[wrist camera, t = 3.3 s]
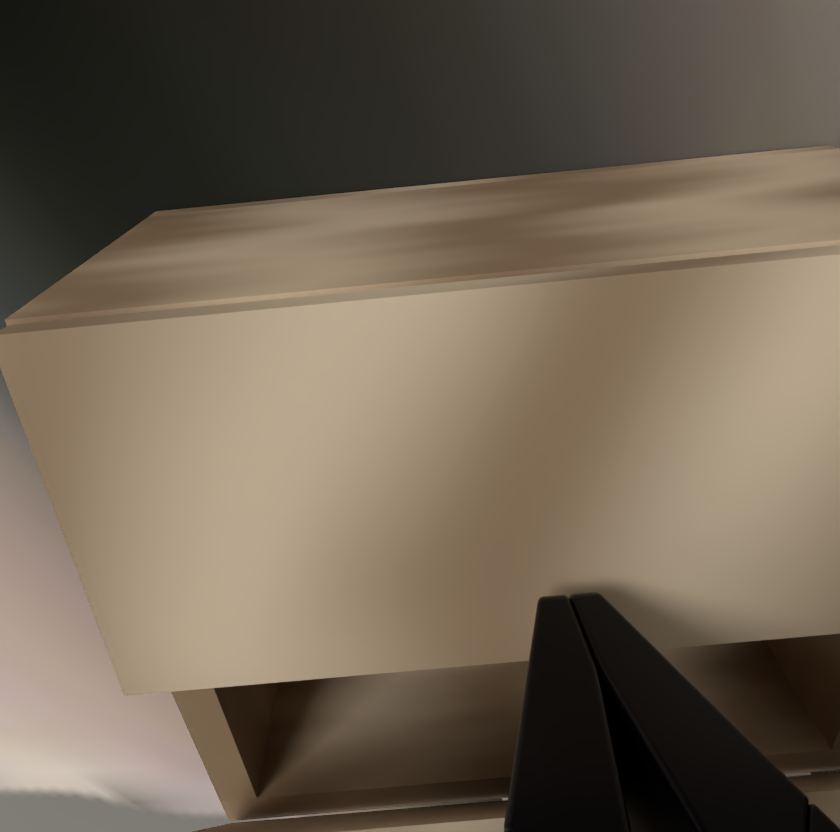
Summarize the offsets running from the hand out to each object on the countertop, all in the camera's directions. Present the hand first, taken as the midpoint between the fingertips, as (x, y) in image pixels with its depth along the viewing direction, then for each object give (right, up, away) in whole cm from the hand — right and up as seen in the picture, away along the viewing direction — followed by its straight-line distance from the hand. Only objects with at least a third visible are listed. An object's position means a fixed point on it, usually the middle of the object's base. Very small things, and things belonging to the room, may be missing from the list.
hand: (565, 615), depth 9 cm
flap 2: (0, +2, 0) cm, 2 cm away
